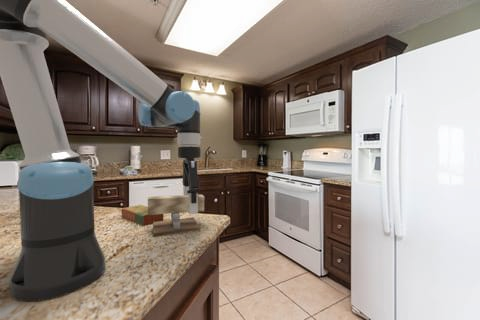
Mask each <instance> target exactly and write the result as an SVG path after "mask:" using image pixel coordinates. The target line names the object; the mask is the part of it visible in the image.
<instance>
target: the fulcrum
mask: <svg viewBox="0 0 480 320" xmlns="http://www.w3.org/2000/svg"><path fill="white" fill-rule="evenodd" d="M170 214H171V215H170V216H171V217H170V219H167V220H163V221H157V222H153V224H152V228H153V229H152V230H153V232H152V233H153V235H152V236H153V237H162V236H168V235H175V234H176V235H177V234H183V233H184V234H185V233H191V232H192V233H193V232H199V231H200V229H201V228H200V226H199V224H198V223H197V220H196V219H195V218H194V217H187V218H186V217H185V218H181V215H180V214H181V213H170Z"/></svg>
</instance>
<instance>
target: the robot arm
mask: <svg viewBox="0 0 480 320" xmlns="http://www.w3.org/2000/svg"><path fill="white" fill-rule="evenodd" d="M47 35H48V36H47ZM48 37H50V38H52V39H53V40H54V41H56V42H57V43H59V44H60V45H62V46H63V47H64V48H66V49H67V50H69V51H70V52H71V53H73V54H74V55H76V56H77V57H78V58H80V59H81V60H82V61H84V62H85V63H87V64H88V65H89V66H90V67H92V68H94V69H95V70H96V71H98V72H99V73H100V74H102V75H104V77H106V78H107V79H109V80H110V81H112V82H113V83H114V84H115V85H118V86H119V87H120V88H121V89H123V90H124V91H126V92H127V93H129V94H130V95H131V96H132V97H134V98H135V99H137V100H139V101H140V103H139V105H138V110H137V116H138V122H139V124H140V125H141V126H143V127H150V128H170V129H176V130H177V146H178V147H177V157H178V158H179V159H182V163H183V164H182V168H183V169H182V185H183V188H182V189H183V190H182V192H183V193H182V194H183V195H189V212H188V214H189V215H191V214H199V212H198V195H199V192H200V187H199V176H198V175H199V174H198V161H197V160H195V159H200V158H201V156H202V155H201V147H200V145H201V140H202V139H203V137H202V136H201V108H200V102H199V101H198V100H196V99H194V98H193V97H192V96H191V95H190V94H189V93H188V92H186V91H181V90H179V91H178V90H175V89H174V88H172V87H171V86H170V85H168V84H167V83H166V82H165V81H163V80H162V79H161V78H160V77H158V76H157V75H156V74H155V73H154V72H152V70H150V69H149V68H148V67H147V66H146V65H145V64H143V63H142V62H141V61H140V60H138V59H137V58H136V57H135V56H133V55H132V54H131V53H130V52H128V51H127V50H126V49H125V48H123V47H122V46H121V45H120V44H119V43H117V42H116V41H115V40H114V39H112V38H111V37H110V36H109V35H108V34H107V33H105V32H104V31H103V30H102V29H101V28H100V27H98V26H97V25H96V24H95V23H93V22H92V21H91V20H89V19H88V18H87V17H86V16H84V15H83V14H82V13H81V12H80V11H79V10H78V9H76V8H75V7H74V6H73V5H71V4H70V3H69V2H68V1H66V0H0V79H1V82H2V85H3V88H4V91H5V95H6V98H7V102H8V104H9V108H10V111H11V114H12V115H11V116H12V118H13V121H14V124H15V127H16V130H17V131H16V132H17V134H18V137H19V140H20V143H21V146H22V147H21V148H22V150H23V153H24V156H25V157H24V159H23V160H22V161H21V162H20V163H19V165H18V166H19V170H20V171H19V173H18V179H17V182H16V186H17V189H18V194H19V195H18V196H19V199H18V200H19V217H20V219H19V220H20V241H21V242H20V243H21V248H20V252H19V255H18V258H17V260H16V264H15V266H14V269H13V272H12V274H11V278H10V280H9V295H10V297H11V298H12V299H14V300H17V301H21V302H36V301H38V302H39V301H44V300H48V299H53V298H57V297H61V296H64V295H67V294H69V293H72V292H75V291H77V290H79V289H82V288H85V286H88V285H90V284H91V283H93V282H95V281H97V279H99V278H100V277H101V276H102V275H103V273H104V272H105V270H106V257H105V254H104V252H103V251H102V247H101V245H100V242H99V241H98V239H97V237H96V234H95V232H96V231H95V204H94V183H95V177H94V175H93V169H92V167H91V166H90V165H88V164H86V163H83V162H82V160H81V157H80V154H79V153H76V152H75V151H73V150H72V149H71V146H70V144H69V140H68V136H67V132H66V128H65V126H64V125H65V124H64V122H63V118H62V115H61V111H60V107H59V104H58V101H57V98H56V97H57V96H56V93H55V90H54V86H53V83H52V79H51V76H50V72H49V68H48V65H47V64H48V63H47V61H46V58H45V54H44V51H45V50H46V49H47V48H48V47H49V45H50V42H49V39H48Z"/></svg>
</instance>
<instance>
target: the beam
mask: <svg viewBox="0 0 480 320" xmlns="http://www.w3.org/2000/svg"><path fill="white" fill-rule="evenodd" d="M147 207H148V215H155V214H163V215H167V214H168V215H169V214H171V213H179V214H181V213H183V214H184V213H185V214H186V213H189V195H165V196H164V195H159V196H147ZM204 211H205V196H204V195H203V194H198V213H199V212H204Z"/></svg>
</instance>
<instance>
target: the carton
mask: <svg viewBox="0 0 480 320" xmlns="http://www.w3.org/2000/svg"><path fill="white" fill-rule="evenodd" d="M122 218H124V219H123V220H125V219H126V221H128V220H129V221H128V222H130V221H131V223H133V222H134V223H133V224H135V223H136V225H138V224H139V225H138V226H140V225H141V227H146V226H145V225H147V226H149V224H150V225H153V222H157V221H164V214H155V215H148V205H147V206H146V205H142V204H138V205H133V206H128V207H123V208H121V219H122Z"/></svg>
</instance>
